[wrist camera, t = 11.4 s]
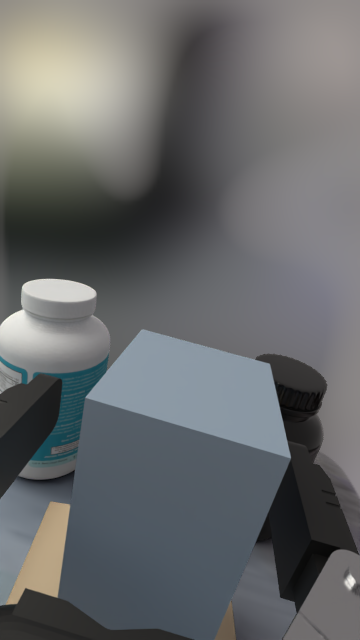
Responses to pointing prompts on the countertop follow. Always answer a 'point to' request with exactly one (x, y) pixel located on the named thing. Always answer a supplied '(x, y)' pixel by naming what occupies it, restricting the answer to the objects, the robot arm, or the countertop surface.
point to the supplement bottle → (297, 406)
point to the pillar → (171, 486)
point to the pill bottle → (55, 361)
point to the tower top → (47, 564)
